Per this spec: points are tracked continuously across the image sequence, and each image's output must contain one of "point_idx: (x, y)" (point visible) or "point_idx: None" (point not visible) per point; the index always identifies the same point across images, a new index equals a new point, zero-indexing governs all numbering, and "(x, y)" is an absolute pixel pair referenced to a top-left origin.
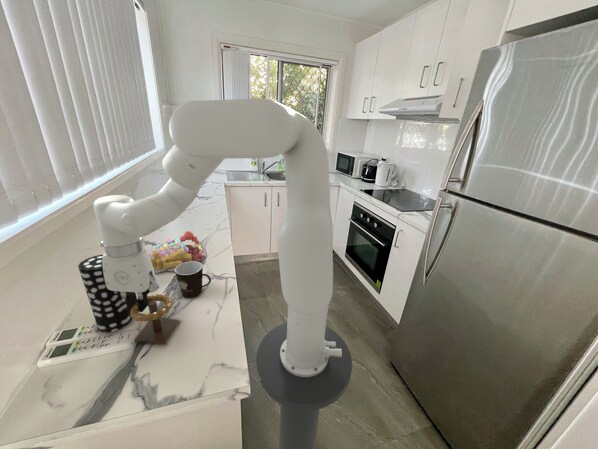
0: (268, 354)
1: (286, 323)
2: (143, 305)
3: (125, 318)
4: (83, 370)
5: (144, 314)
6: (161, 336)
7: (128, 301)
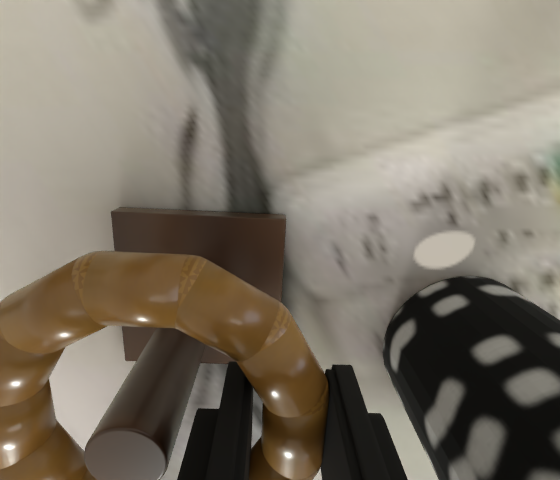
0: None
1: None
2: (206, 427)
3: (404, 350)
4: (450, 32)
5: (117, 313)
6: (149, 246)
7: (353, 472)
